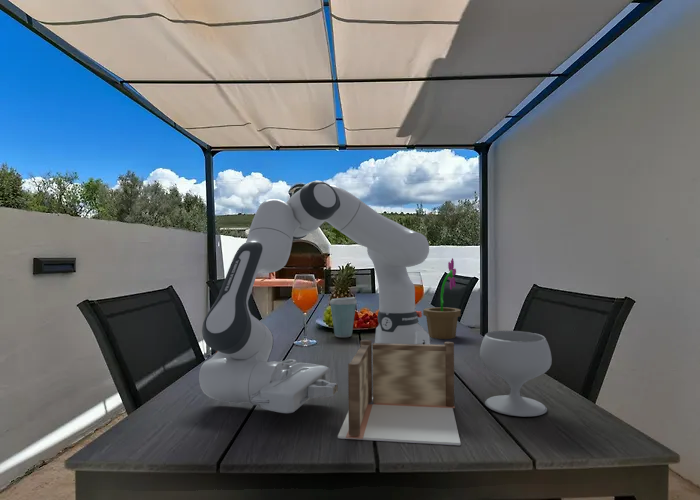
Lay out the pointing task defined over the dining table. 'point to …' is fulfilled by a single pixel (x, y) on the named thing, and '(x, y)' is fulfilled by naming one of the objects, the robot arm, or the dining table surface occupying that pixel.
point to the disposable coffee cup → (343, 315)
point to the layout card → (406, 424)
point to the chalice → (515, 368)
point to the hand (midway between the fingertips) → (335, 390)
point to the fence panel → (358, 389)
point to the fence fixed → (411, 373)
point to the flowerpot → (443, 313)
